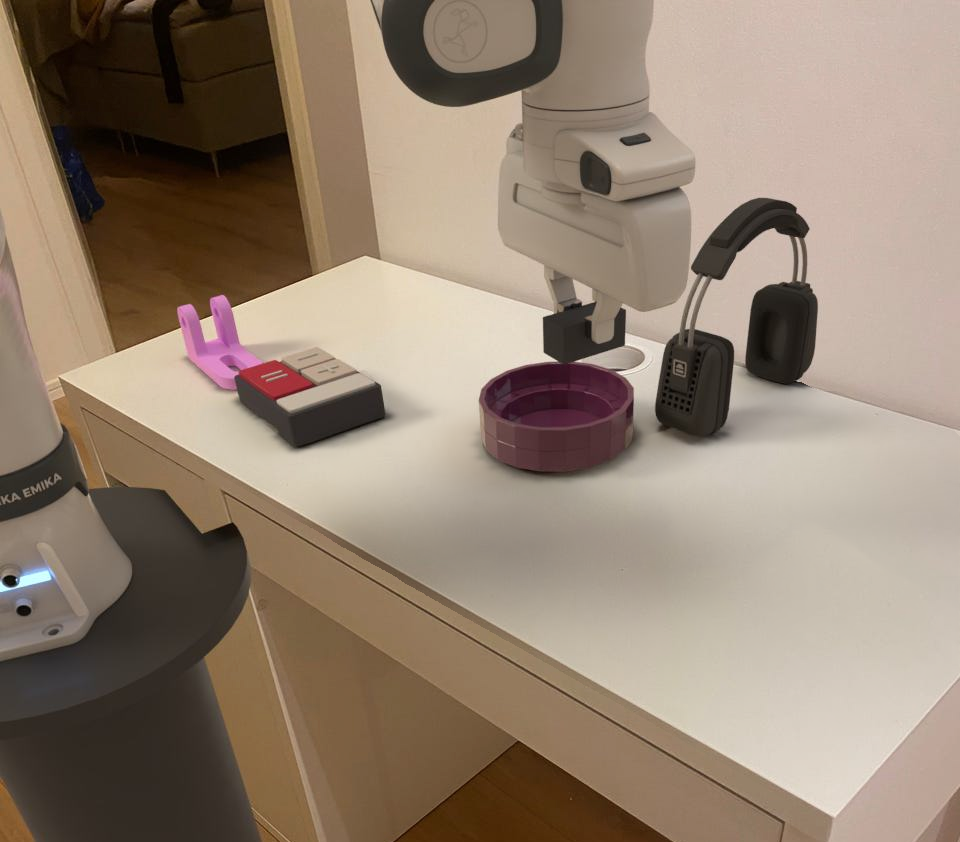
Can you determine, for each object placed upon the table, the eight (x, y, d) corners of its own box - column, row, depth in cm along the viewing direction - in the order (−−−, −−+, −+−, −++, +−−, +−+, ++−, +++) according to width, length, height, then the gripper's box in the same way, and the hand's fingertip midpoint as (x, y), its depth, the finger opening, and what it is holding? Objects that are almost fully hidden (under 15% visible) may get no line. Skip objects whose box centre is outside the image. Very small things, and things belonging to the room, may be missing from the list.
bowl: (533, 493, 93) (531, 445, 90) (455, 431, 104) (452, 387, 100) (662, 447, 98) (665, 400, 95) (576, 392, 109) (577, 349, 106)
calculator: (318, 342, 115) (381, 378, 104) (325, 377, 117) (387, 416, 107) (230, 369, 110) (287, 409, 100) (239, 405, 113) (295, 448, 102)
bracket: (189, 358, 123) (174, 303, 118) (230, 346, 125) (218, 291, 120) (228, 394, 114) (214, 335, 110) (273, 380, 116) (261, 322, 112)
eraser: (563, 365, 78) (563, 328, 76) (543, 352, 80) (542, 316, 78) (625, 345, 80) (626, 309, 78) (603, 334, 82) (604, 298, 80)
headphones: (698, 449, 98) (716, 240, 85) (646, 430, 101) (656, 228, 89) (817, 372, 109) (849, 178, 96) (767, 357, 113) (791, 169, 100)
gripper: (473, 125, 76) (483, 302, 85) (635, 180, 62) (627, 385, 71) (542, 111, 79) (545, 285, 87) (713, 161, 65) (696, 362, 73)
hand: (583, 331), depth 79 cm, fingers closed on eraser, 3 cm apart
